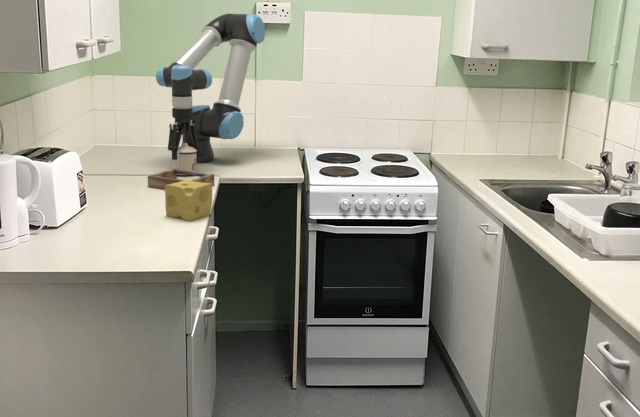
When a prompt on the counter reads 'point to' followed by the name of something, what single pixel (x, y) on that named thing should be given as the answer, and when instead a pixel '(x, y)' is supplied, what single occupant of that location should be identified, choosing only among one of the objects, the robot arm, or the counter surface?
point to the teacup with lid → (187, 158)
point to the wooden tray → (171, 177)
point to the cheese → (188, 199)
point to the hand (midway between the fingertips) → (183, 165)
